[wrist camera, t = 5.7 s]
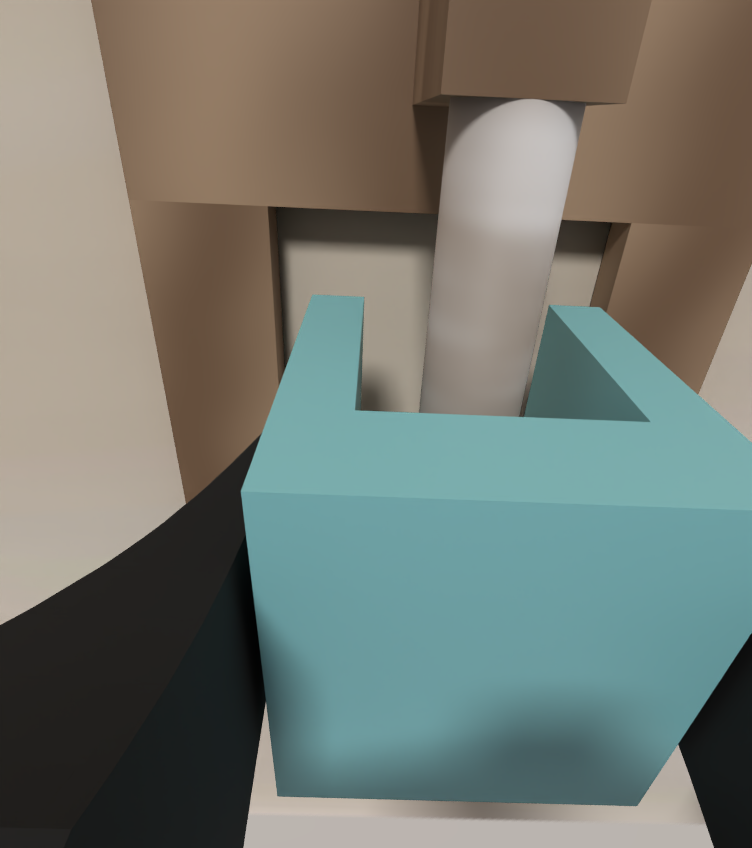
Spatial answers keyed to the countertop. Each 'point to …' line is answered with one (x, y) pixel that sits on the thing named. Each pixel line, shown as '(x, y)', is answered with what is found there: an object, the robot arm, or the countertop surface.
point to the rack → (428, 177)
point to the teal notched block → (494, 574)
